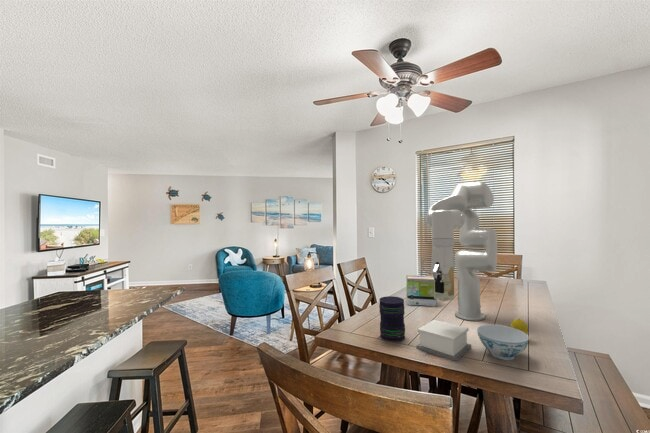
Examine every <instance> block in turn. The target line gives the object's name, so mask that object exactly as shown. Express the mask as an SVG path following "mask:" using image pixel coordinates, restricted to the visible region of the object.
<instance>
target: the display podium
mask: <svg viewBox="0 0 650 433" xmlns="http://www.w3.org/2000/svg"><path fill="white" fill-rule="evenodd" d="M469 329H470V328H469V327H466V326H462V325H458V324H454V323H449V322H445V321H441V320H437V319H433V320H431V321H429V322H427V323H426V324H424V325H423V326H421V327H419V328H418V329H417V332H418V333H419V343H417V345H415V347H416V350H417V349H418V350H421V351H422V352H423V351H424V352H427V353H430V354H433V355H436V356H438V357H442V358H445V359H448V360H451V361H453V362H456V361H457V360H459V359H460V358H461V357H462V356H463V355H464V354H465V353H466V352H467V351H469V350H470V349H471V348H472V344H470V343H468V339H467V338H468V336H467V335H468V334H467V332H468V331H469Z"/></svg>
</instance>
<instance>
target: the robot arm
mask: <svg viewBox="0 0 650 433" xmlns="http://www.w3.org/2000/svg"><path fill="white" fill-rule="evenodd" d="M493 204H494V194H493V192H492V190H491V188H490V187H489V185H488V184H487V183H485V182H484V181H470V182H461V183H457V184H455V185H454V187H453V188H452V190H451V192H449V195H448V196H447V197H445V198H442V199H440V200H438V201H436V202H434V203H433V204H432V205H431V206H430V207H429V209H428V210H427V213H426V214H425V224H426V226H427V227H428V228H430V229H431V238H432V239H431V241H432V242H431V243H432V249H431V251H432V252H431V261H430V262H431V264H430V265H431V266H430V269H431V270H430V272H431V273H432V276H433V277H434V281H435V292H437V293H444V282H443V278H444V275H445V274H447V273H449V270H450V267H454V268H455V269H456V276H457V278H456V279H457V305H458V306H457V308H458V309H457V310H456V311H455V312H454V315H455V318H456V317H457V318H458V319H461V320H464V321H471V322H480V321H483V320H485V315H484V313H482V312H481V311H482V310H481V308H482V306H481V280H480V278H479V276H478V274H476V271H478V272H488V273H489V272H490V273H491V272H495V270H496V269H497V266H498V234H497V232H496V230H495V229H493V228H491V227H480V217H479V215H478V214H477V213H476V212H475V211H474V210H472V209H487V208H490V207H492V206H493ZM456 229H457V230H458V229H459V237H458V238H459V244H460V245H461V247H463V248H475V249H460V250H458V251H456V253H455V254H454V248H455V230H456ZM477 248H478V249H477ZM479 249H484V250H479ZM441 271H442V273H438V272H441ZM439 275H440V276H441V278H440V276H439Z"/></svg>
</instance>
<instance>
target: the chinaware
mask: <svg viewBox="0 0 650 433" xmlns="http://www.w3.org/2000/svg"><path fill="white" fill-rule="evenodd" d="M476 332H477V334H478V339H479V340H480V342H481V344H482V345H483V346H484V348H485V349H487V351H489V352H490V354H491V355H492V356H493V357H494V358H496V359H499V360H503V361H511V360H514V359H515V357H517V356H519V355H520V354H522V353H523V352H524V351H525V350H526V347H527V346H528V343H529V335H528V334H526V333H524V332H522V331H520V330H518V329H515V328H511V326H506V325H500V324H484V325H483V324H482V325H480V326H478V327H477V329H476Z"/></svg>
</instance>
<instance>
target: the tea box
mask: <svg viewBox="0 0 650 433" xmlns="http://www.w3.org/2000/svg"><path fill="white" fill-rule="evenodd" d="M437 301H438V300H437V299H434V277H433V275H417V274H416V275H411V274H410V275H409V274H406V302H407V305H408V306H424V307H425V306H426V307H427V306H428V307H436V306H437Z"/></svg>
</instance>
